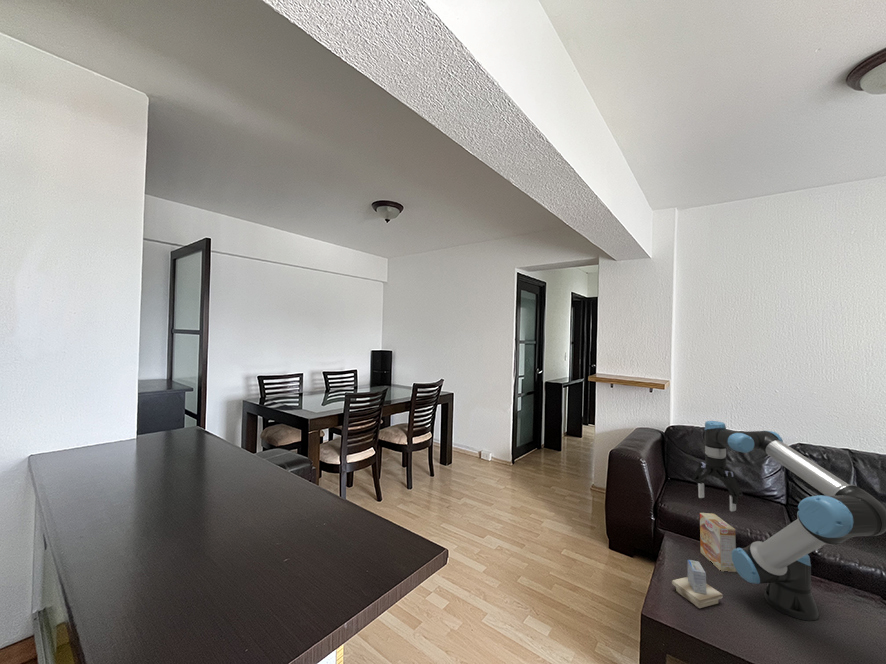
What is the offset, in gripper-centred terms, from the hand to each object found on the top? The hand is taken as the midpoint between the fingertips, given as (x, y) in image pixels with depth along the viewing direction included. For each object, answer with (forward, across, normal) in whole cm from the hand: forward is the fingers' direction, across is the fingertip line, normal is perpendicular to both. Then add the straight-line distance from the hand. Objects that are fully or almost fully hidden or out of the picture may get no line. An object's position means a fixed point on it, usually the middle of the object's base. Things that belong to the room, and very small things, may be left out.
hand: (716, 503), depth 159 cm
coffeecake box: (+32, +7, -10) cm, 34 cm away
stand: (+32, -7, +22) cm, 39 cm away
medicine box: (+28, -7, +22) cm, 36 cm away
